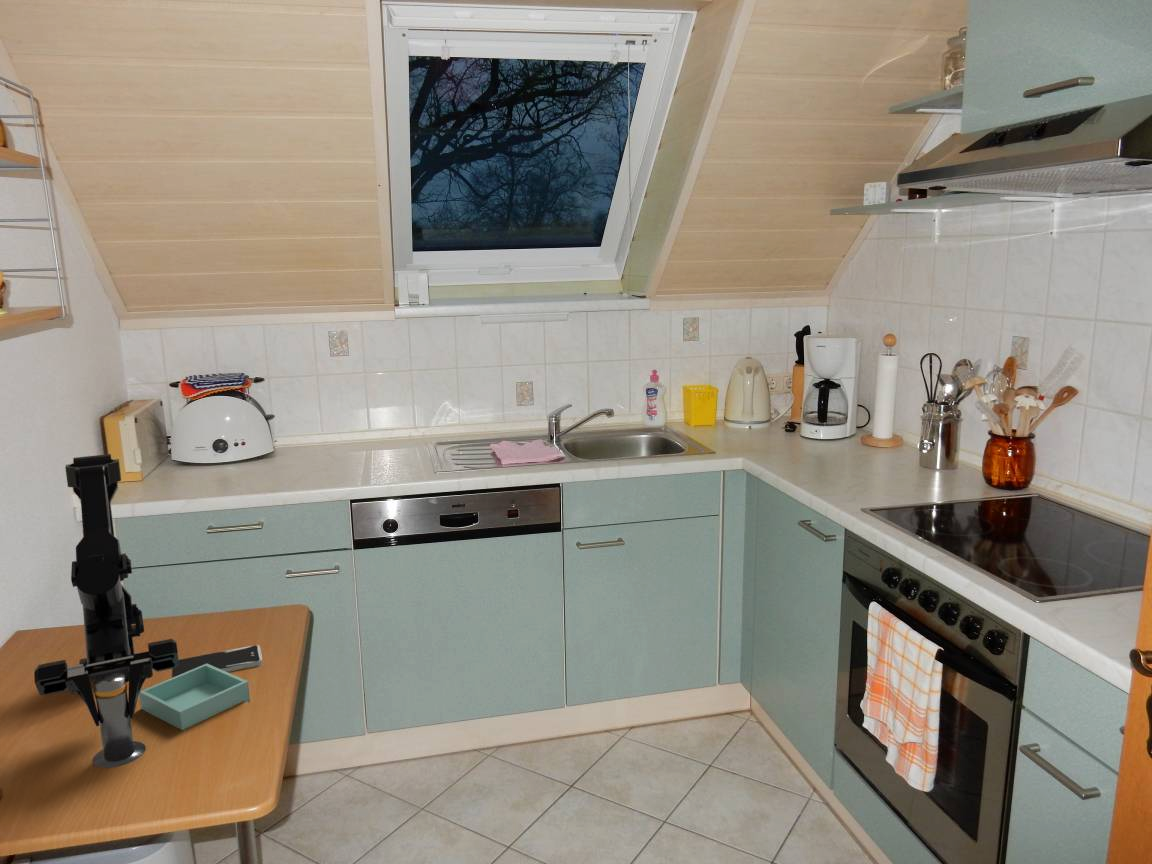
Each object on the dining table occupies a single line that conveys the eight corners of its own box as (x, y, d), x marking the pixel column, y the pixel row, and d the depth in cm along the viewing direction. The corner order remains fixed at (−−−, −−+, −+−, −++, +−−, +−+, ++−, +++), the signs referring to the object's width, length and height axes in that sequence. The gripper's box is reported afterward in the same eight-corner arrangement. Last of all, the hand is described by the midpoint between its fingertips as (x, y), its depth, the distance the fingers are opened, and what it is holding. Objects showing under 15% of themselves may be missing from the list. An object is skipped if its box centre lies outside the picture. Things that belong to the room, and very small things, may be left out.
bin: (141, 712, 141) (139, 691, 140) (208, 682, 151) (206, 663, 150) (182, 733, 134) (180, 712, 133) (250, 701, 144) (248, 681, 143)
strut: (97, 756, 127) (87, 681, 125) (126, 743, 131) (116, 670, 128) (112, 765, 125) (102, 689, 123) (140, 751, 128) (131, 677, 126)
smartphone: (173, 660, 158) (259, 644, 164) (174, 667, 158) (260, 650, 164) (172, 678, 151) (262, 660, 157) (173, 685, 151) (263, 667, 157)
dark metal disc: (84, 761, 127) (83, 757, 127) (130, 739, 133) (130, 736, 133) (108, 776, 123) (107, 773, 123) (155, 753, 129) (155, 750, 129)
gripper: (173, 631, 143) (185, 722, 136) (42, 657, 135) (47, 755, 127) (171, 603, 135) (183, 698, 127) (31, 628, 126) (36, 731, 119)
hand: (114, 721), depth 125 cm, fingers closed on strut, 4 cm apart
